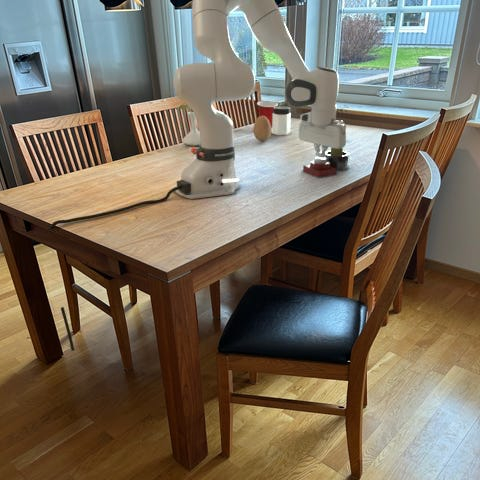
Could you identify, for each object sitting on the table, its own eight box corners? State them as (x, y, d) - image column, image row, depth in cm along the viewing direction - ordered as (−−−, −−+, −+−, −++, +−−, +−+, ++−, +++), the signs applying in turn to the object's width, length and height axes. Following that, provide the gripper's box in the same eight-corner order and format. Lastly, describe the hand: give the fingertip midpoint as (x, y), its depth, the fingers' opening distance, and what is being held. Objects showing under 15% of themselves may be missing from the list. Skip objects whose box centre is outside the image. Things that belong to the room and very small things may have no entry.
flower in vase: (210, 142, 227) (207, 83, 214) (202, 148, 218) (199, 87, 204) (184, 141, 230) (179, 83, 216) (175, 146, 221) (170, 86, 207)
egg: (271, 139, 231) (271, 114, 225) (270, 143, 224) (270, 117, 218) (254, 139, 232) (254, 114, 226) (252, 143, 225) (252, 117, 219)
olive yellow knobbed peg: (342, 168, 186) (346, 138, 180) (327, 167, 187) (329, 138, 181) (343, 164, 191) (346, 135, 185) (327, 163, 192) (330, 134, 186)
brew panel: (319, 177, 179) (320, 166, 177) (303, 171, 186) (303, 160, 184) (336, 174, 182) (337, 163, 180) (319, 168, 189) (320, 157, 187)
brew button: (319, 165, 180) (319, 160, 179) (311, 162, 183) (312, 157, 182) (328, 163, 181) (328, 158, 180) (321, 160, 185) (321, 156, 184)
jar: (277, 130, 246) (277, 105, 240) (292, 132, 243) (293, 106, 237) (269, 134, 240) (270, 108, 233) (285, 136, 237) (285, 109, 230)
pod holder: (333, 172, 184) (335, 157, 181) (319, 166, 191) (320, 152, 188) (351, 168, 188) (353, 154, 185) (336, 163, 195) (338, 149, 192)
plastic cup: (263, 130, 248) (263, 105, 241) (252, 126, 256) (253, 102, 249) (281, 128, 252) (282, 103, 246) (270, 124, 260) (270, 100, 254)
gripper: (351, 120, 169) (347, 160, 176) (308, 112, 182) (306, 150, 189) (340, 123, 165) (336, 164, 173) (296, 114, 178) (294, 153, 186)
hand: (320, 156), depth 181 cm, fingers closed
